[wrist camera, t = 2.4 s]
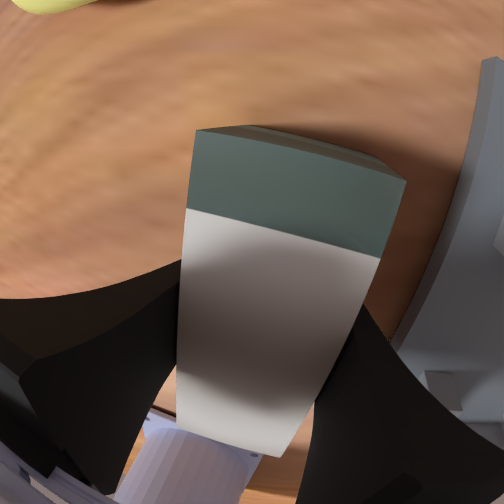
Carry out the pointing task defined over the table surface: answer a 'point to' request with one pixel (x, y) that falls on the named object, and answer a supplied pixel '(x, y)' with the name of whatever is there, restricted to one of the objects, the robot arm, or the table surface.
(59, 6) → the emoji
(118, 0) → the table surface
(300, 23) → the table surface
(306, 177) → the light grey tapered block
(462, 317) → the cradle
